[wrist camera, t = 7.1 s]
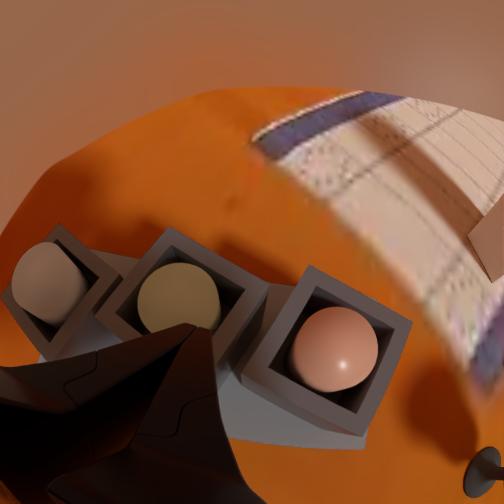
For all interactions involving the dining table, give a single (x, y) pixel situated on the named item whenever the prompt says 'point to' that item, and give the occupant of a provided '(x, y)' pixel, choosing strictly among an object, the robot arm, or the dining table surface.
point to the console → (231, 339)
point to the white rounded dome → (49, 284)
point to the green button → (179, 298)
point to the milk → (491, 240)
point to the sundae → (483, 472)
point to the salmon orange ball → (332, 351)
